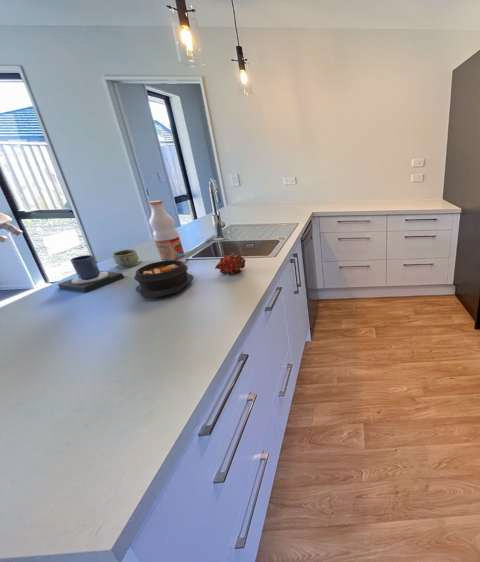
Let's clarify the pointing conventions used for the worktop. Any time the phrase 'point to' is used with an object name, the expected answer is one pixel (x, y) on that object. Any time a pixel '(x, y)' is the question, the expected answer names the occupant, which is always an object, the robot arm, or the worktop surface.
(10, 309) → the worktop surface
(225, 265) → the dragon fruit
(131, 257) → the vessel
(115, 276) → the scale
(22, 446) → the worktop surface
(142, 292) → the casserole
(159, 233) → the fruit juice
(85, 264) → the dark blue cup
